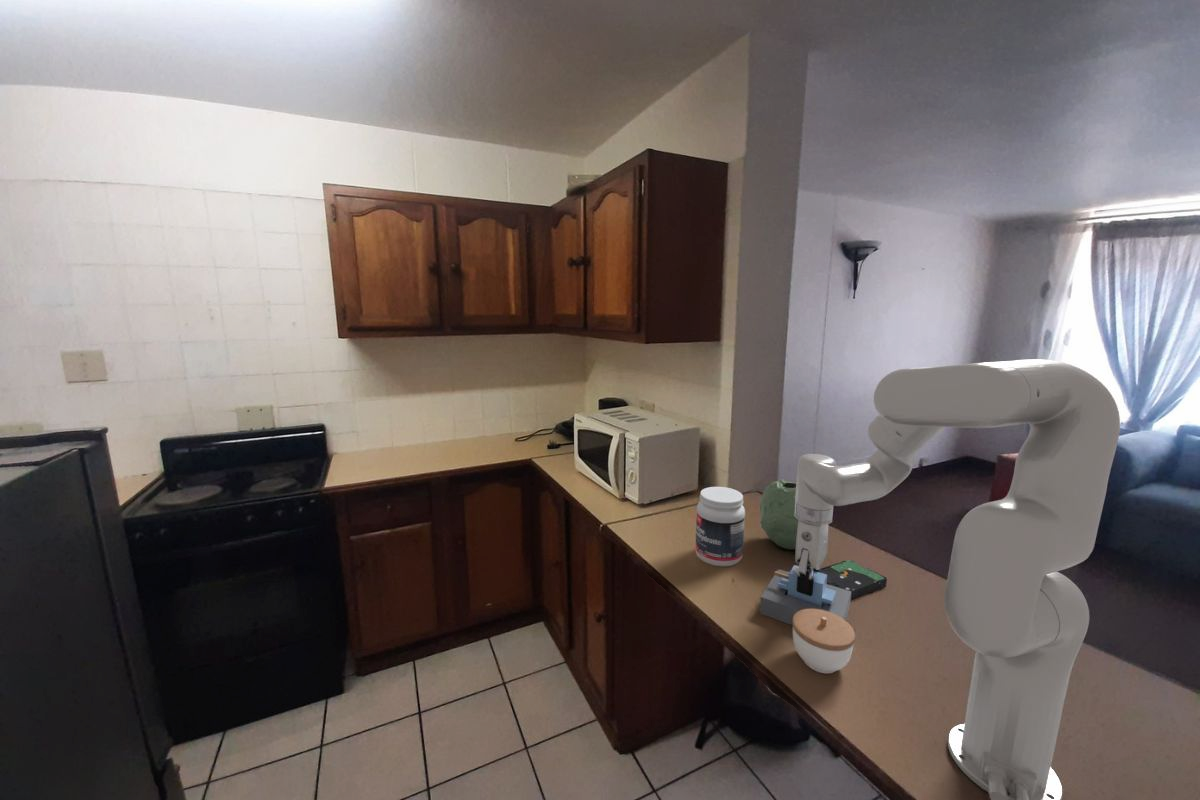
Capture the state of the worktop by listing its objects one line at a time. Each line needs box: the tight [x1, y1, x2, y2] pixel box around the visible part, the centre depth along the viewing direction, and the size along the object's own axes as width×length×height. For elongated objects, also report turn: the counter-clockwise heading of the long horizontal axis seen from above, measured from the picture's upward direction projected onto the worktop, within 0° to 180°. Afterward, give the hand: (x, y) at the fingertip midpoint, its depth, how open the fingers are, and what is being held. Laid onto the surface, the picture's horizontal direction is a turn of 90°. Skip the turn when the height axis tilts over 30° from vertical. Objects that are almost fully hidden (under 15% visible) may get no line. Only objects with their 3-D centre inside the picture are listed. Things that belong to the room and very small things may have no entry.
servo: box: [774, 564, 836, 607], centre depth 103 cm, size 13×4×9 cm, turn 53°
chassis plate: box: [759, 569, 852, 626], centre depth 103 cm, size 14×16×4 cm
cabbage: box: [759, 478, 799, 550], centre depth 130 cm, size 16×19×20 cm
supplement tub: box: [694, 486, 746, 567], centre depth 125 cm, size 13×13×18 cm
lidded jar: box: [792, 609, 856, 675], centre depth 87 cm, size 11×11×9 cm
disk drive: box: [819, 559, 888, 600], centre depth 114 cm, size 10×3×15 cm
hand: (807, 587), depth 102 cm, fingers closed on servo, 4 cm apart
